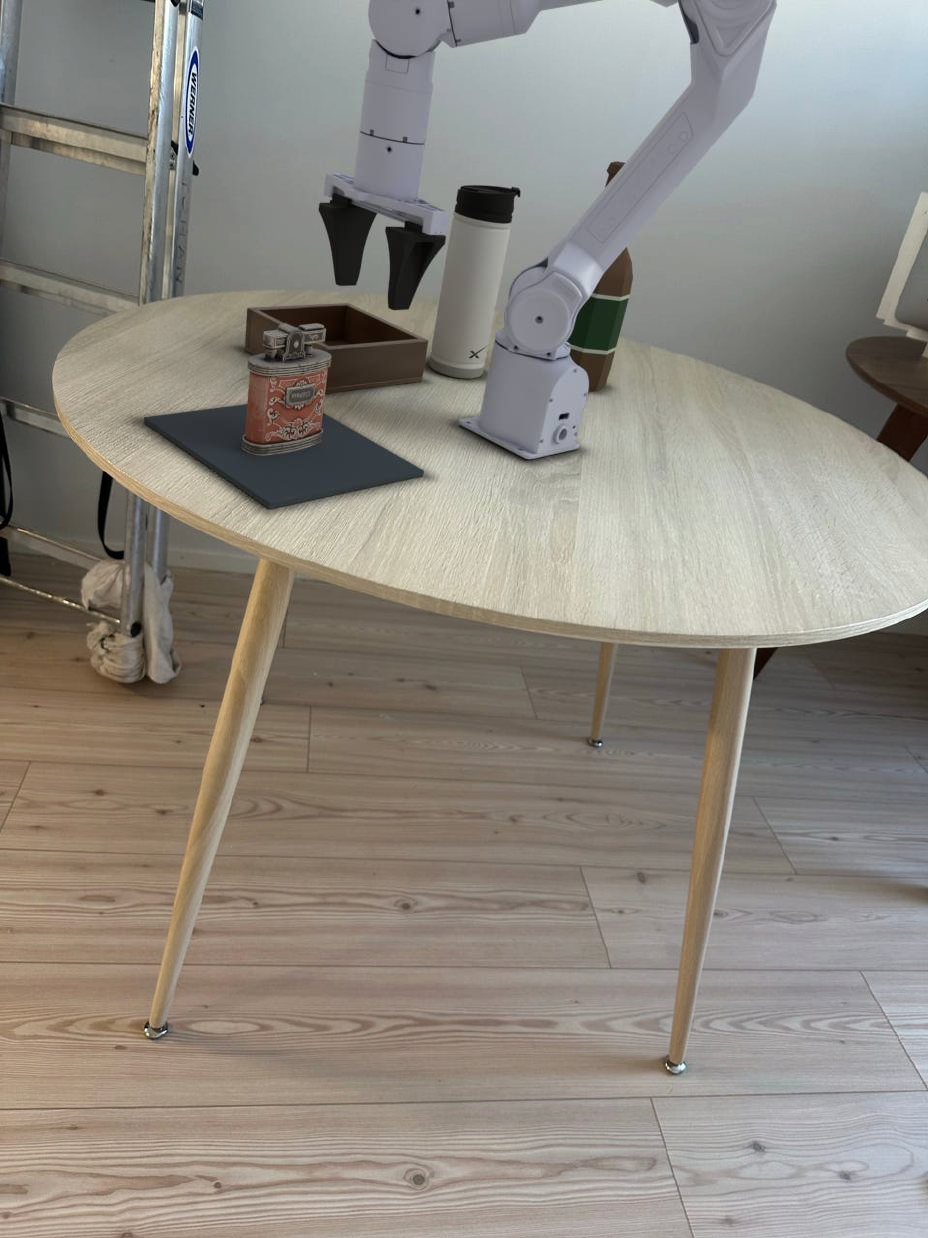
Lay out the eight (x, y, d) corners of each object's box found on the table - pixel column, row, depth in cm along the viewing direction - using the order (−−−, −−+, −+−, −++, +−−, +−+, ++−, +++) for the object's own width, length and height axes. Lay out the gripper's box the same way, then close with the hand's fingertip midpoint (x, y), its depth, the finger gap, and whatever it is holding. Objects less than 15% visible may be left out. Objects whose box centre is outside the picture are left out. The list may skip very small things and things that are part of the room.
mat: (423, 475, 85) (424, 470, 84) (269, 509, 74) (269, 503, 73) (296, 402, 94) (296, 397, 94) (143, 422, 83) (143, 416, 83)
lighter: (260, 459, 80) (270, 337, 75) (232, 444, 82) (240, 323, 77) (330, 442, 86) (344, 327, 81) (303, 428, 87) (315, 315, 82)
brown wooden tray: (422, 381, 107) (428, 340, 105) (323, 393, 98) (328, 349, 95) (343, 341, 114) (347, 302, 112) (244, 349, 105) (246, 307, 103)
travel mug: (485, 383, 110) (522, 193, 100) (427, 372, 110) (458, 180, 100) (485, 367, 116) (520, 185, 106) (430, 357, 115) (460, 173, 105)
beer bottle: (604, 378, 121) (659, 167, 109) (606, 396, 114) (664, 174, 102) (542, 365, 121) (590, 153, 109) (541, 383, 114) (591, 159, 102)
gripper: (303, 116, 86) (289, 275, 93) (415, 152, 79) (390, 322, 85) (365, 123, 91) (347, 274, 98) (475, 157, 83) (448, 318, 90)
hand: (371, 296), depth 92 cm, fingers open, 7 cm apart
